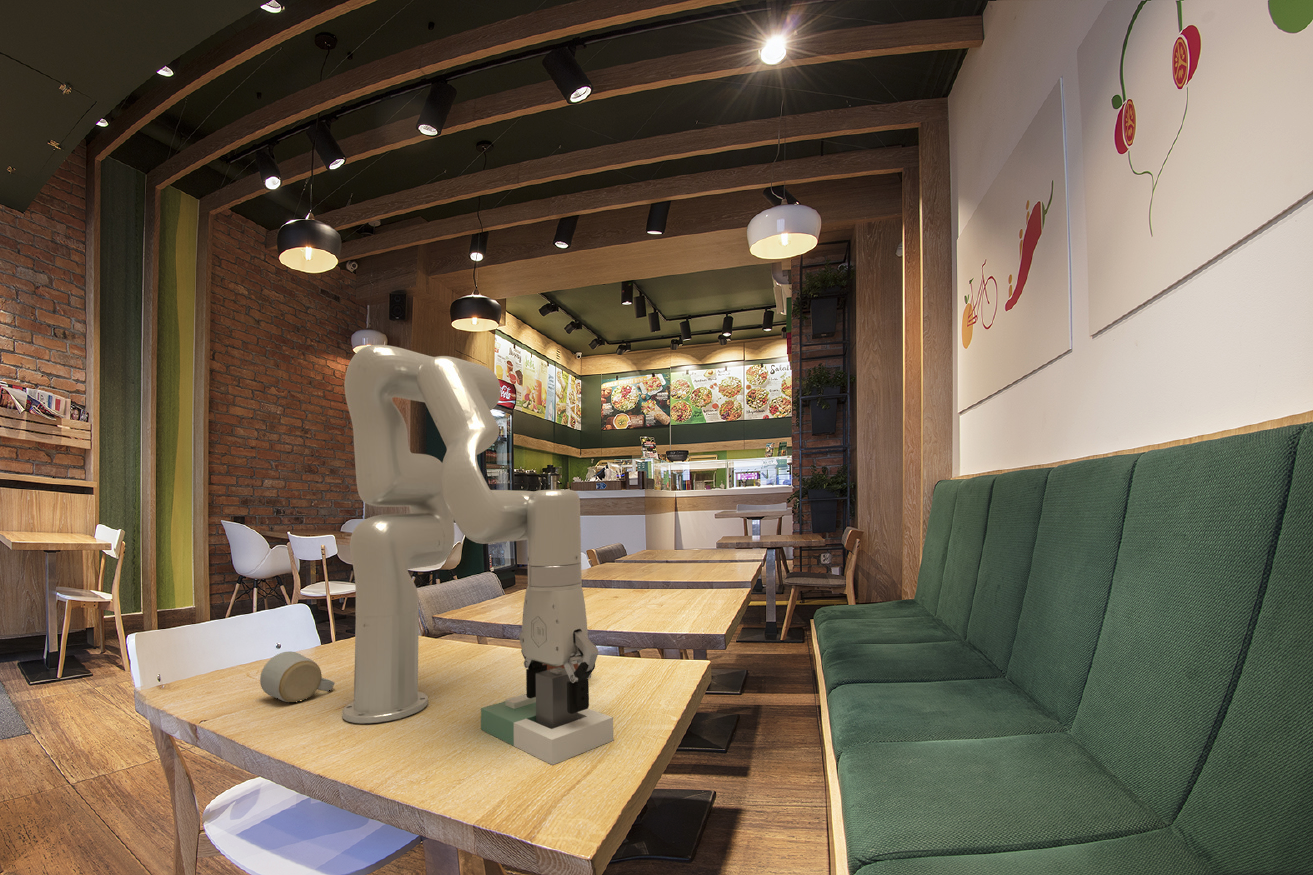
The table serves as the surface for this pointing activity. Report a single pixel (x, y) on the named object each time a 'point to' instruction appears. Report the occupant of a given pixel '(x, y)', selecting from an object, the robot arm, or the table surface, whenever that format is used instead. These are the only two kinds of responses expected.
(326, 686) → the ceramic mug
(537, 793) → the table surface
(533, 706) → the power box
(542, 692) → the grey square peg
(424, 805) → the table surface
